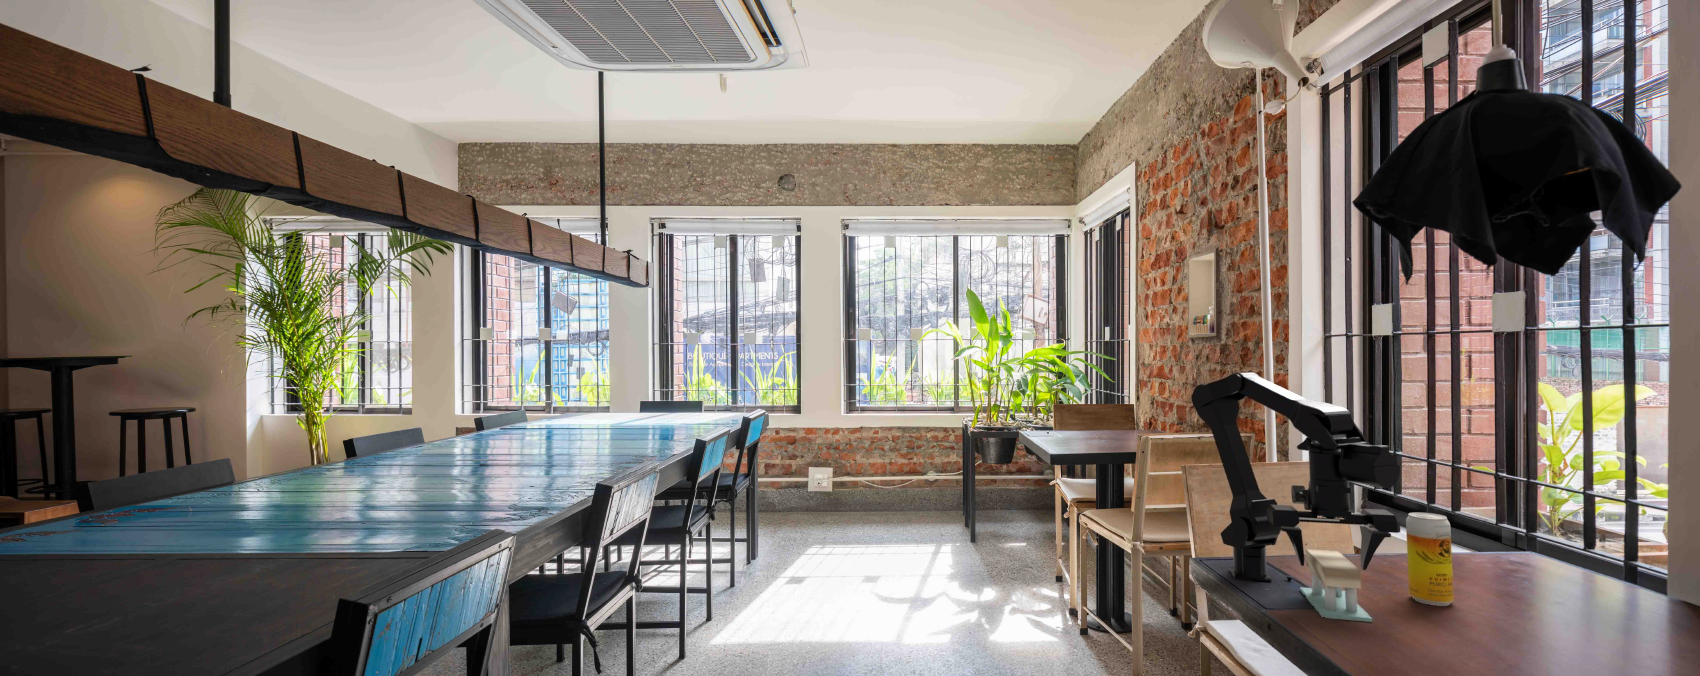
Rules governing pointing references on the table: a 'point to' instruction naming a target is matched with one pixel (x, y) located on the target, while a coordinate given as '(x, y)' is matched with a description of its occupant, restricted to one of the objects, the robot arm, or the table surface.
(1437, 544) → the beer can
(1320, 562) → the board
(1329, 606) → the peg stand
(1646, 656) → the table surface
